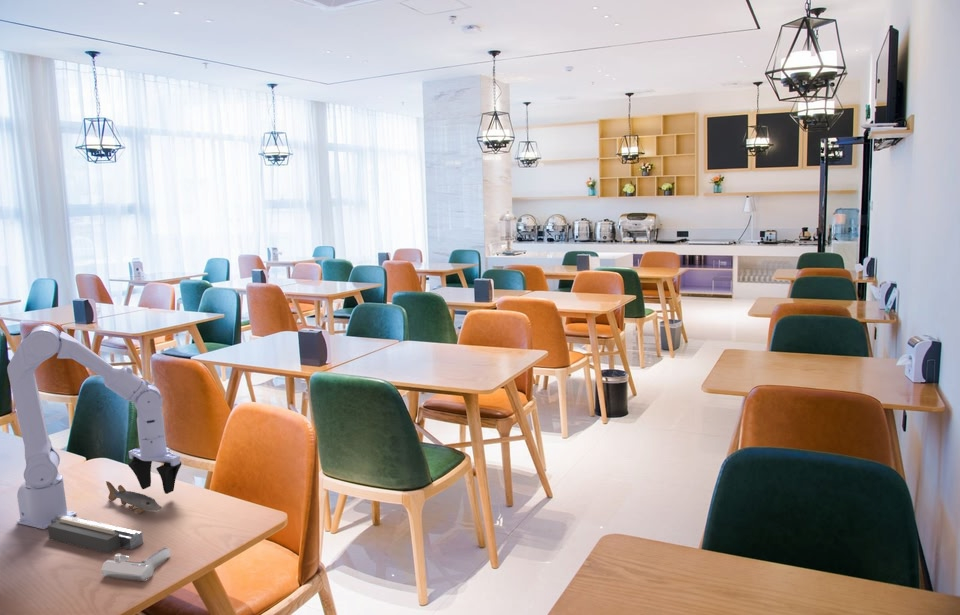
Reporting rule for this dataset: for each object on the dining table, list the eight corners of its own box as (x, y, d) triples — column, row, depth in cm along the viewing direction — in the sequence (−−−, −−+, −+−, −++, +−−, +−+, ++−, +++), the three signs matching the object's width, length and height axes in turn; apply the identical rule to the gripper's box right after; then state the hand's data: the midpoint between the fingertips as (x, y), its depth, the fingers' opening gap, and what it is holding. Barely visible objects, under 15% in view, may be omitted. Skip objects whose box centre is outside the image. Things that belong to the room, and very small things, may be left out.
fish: (152, 522, 155) (150, 501, 154) (99, 503, 166) (96, 483, 165) (170, 514, 159) (168, 494, 158) (116, 496, 170) (114, 477, 169)
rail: (52, 530, 152) (50, 517, 152) (65, 524, 155) (63, 512, 155) (131, 550, 143) (129, 536, 142) (143, 543, 145) (141, 529, 145)
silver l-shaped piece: (102, 579, 132) (142, 585, 130) (100, 557, 132) (140, 562, 129) (140, 556, 142) (178, 560, 140) (138, 534, 141) (176, 539, 139)
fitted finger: (49, 539, 149) (47, 522, 148) (61, 533, 151) (59, 516, 150) (108, 553, 141) (106, 536, 141) (120, 547, 144) (118, 530, 143)
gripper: (187, 433, 167) (193, 487, 169) (143, 427, 172) (149, 479, 174) (163, 443, 160) (169, 499, 162) (119, 436, 166) (125, 490, 168)
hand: (157, 489), depth 168 cm, fingers open, 7 cm apart
